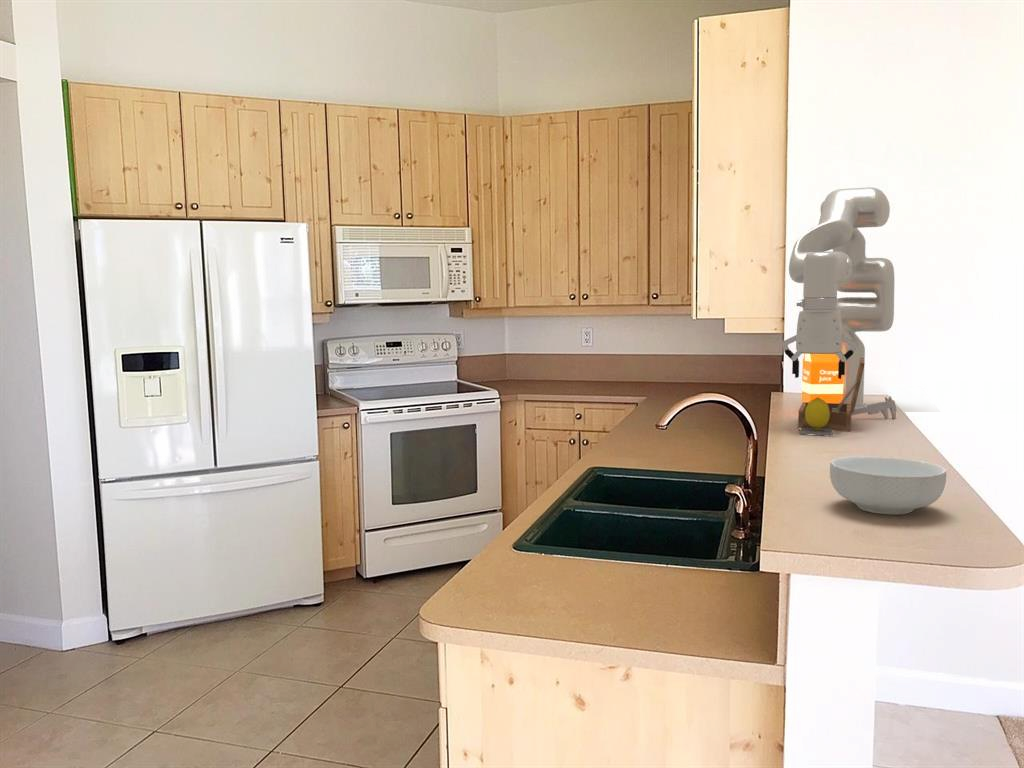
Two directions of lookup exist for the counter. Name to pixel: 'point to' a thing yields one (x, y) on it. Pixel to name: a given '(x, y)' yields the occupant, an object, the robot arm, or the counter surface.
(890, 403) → the caliper
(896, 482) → the cereal bowl
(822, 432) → the coaster
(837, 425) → the case
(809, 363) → the orange juice
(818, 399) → the lemon
